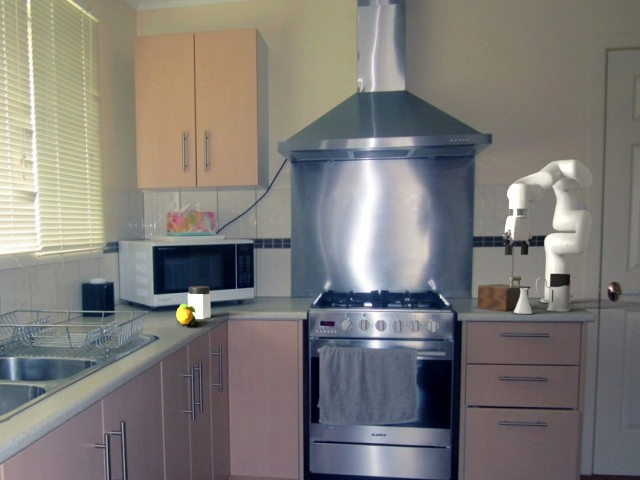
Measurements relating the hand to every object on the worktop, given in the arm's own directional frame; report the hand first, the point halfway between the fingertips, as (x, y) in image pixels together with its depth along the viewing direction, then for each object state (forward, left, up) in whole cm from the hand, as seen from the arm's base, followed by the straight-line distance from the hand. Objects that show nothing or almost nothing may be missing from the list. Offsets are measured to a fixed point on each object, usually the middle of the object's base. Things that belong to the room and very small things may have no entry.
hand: (516, 255), depth 273 cm
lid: (+1, -5, -14) cm, 15 cm away
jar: (+124, -47, -23) cm, 135 cm away
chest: (+1, -5, -23) cm, 23 cm away
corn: (+137, -31, -23) cm, 142 cm away
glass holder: (-11, +10, -23) cm, 27 cm away
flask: (+7, +10, -23) cm, 26 cm away
